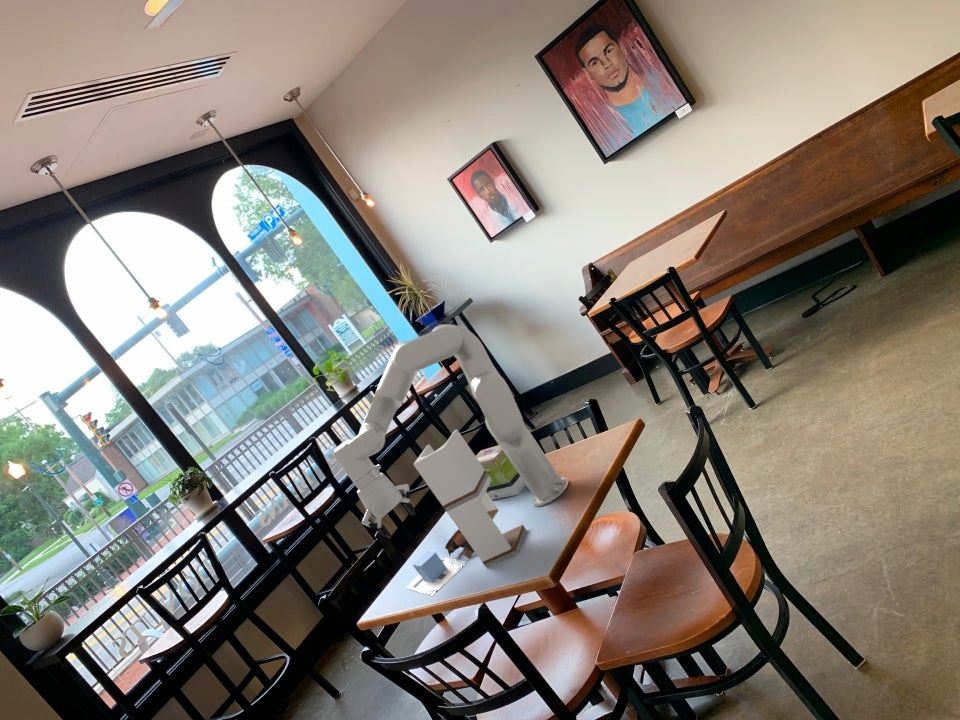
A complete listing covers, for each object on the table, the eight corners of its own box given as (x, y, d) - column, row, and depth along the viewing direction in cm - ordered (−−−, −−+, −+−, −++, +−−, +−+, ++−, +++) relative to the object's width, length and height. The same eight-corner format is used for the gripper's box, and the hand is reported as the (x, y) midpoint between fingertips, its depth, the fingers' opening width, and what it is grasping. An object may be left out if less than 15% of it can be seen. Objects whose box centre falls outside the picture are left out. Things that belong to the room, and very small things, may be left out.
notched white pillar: (518, 553, 193) (444, 447, 188) (486, 568, 197) (413, 464, 192) (526, 530, 203) (456, 429, 198) (496, 544, 207) (426, 445, 202)
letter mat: (467, 562, 208) (467, 561, 208) (432, 596, 202) (431, 595, 202) (439, 556, 226) (438, 556, 226) (405, 587, 219) (405, 587, 219)
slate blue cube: (447, 568, 213) (435, 552, 212) (432, 582, 210) (420, 566, 209) (438, 566, 218) (427, 551, 217) (424, 580, 215) (412, 564, 214)
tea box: (488, 502, 243) (463, 466, 241) (504, 484, 250) (480, 449, 248) (518, 495, 232) (492, 458, 230) (534, 476, 239) (509, 440, 237)
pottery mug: (463, 567, 209) (440, 548, 211) (466, 568, 218) (445, 551, 220) (488, 533, 211) (466, 515, 213) (491, 535, 220) (469, 518, 222)
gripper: (385, 460, 216) (418, 506, 219) (339, 497, 208) (374, 544, 211) (394, 459, 210) (428, 506, 212) (347, 497, 202) (383, 546, 204)
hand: (401, 525), depth 211 cm, fingers open, 9 cm apart
